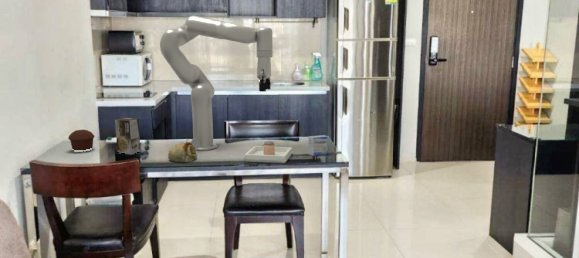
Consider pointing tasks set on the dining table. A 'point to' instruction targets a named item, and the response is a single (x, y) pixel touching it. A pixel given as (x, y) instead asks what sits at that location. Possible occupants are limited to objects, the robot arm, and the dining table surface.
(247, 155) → the tray
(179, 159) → the pastry
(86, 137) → the muffin
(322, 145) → the medicine box
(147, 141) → the dining table surface
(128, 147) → the coffee box
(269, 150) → the shaker
